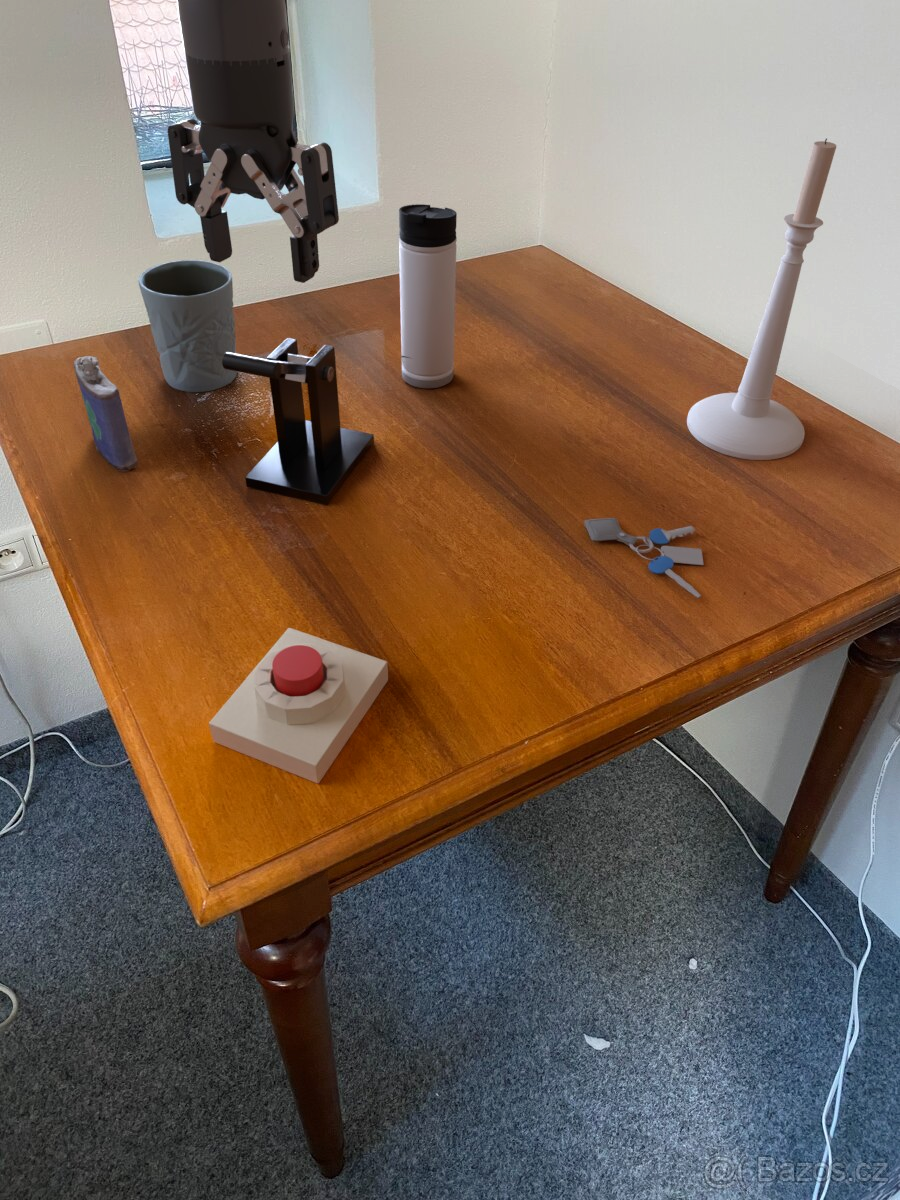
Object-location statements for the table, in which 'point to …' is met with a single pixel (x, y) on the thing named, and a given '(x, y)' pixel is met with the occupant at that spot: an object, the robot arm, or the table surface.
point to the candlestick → (767, 348)
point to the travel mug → (427, 294)
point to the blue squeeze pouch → (105, 414)
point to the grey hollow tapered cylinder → (191, 322)
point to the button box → (300, 709)
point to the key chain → (658, 565)
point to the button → (298, 670)
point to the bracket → (308, 434)
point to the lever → (268, 366)
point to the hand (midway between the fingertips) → (262, 269)
